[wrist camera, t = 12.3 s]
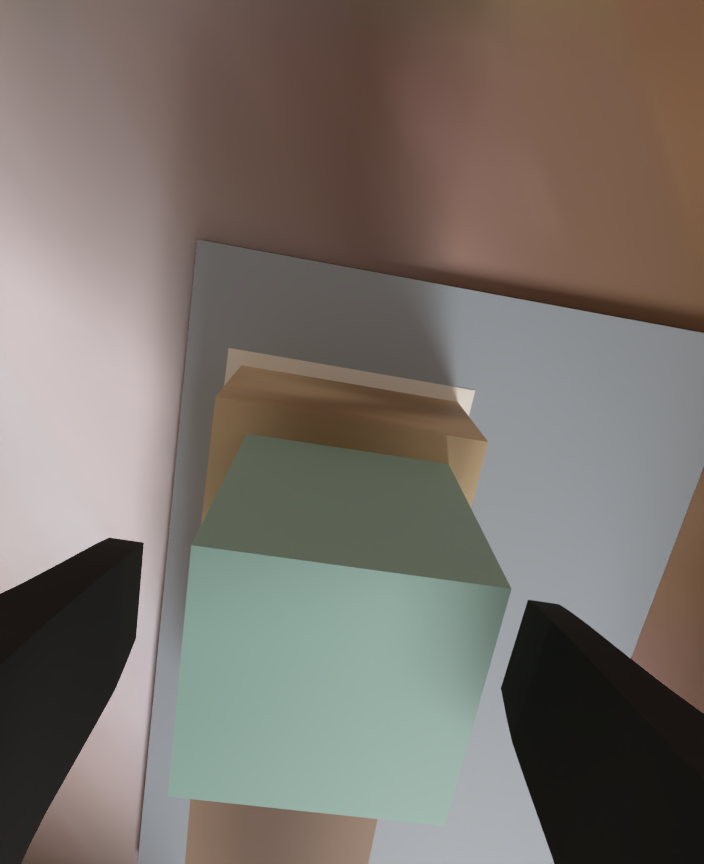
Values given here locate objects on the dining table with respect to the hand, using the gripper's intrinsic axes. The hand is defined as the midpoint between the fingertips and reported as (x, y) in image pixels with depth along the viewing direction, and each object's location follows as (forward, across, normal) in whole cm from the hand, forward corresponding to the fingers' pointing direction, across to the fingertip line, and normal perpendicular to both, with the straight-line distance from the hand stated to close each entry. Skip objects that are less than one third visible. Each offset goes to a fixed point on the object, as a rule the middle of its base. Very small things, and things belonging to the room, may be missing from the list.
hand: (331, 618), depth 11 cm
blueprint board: (+7, -3, +5) cm, 9 cm away
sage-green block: (+3, 0, 0) cm, 3 cm away
